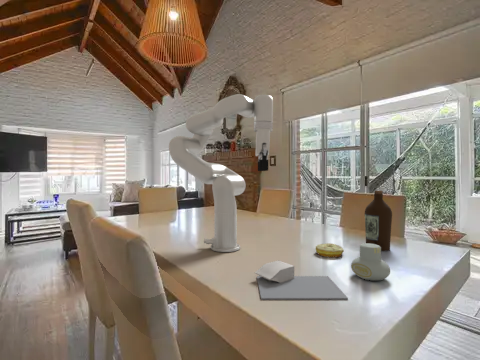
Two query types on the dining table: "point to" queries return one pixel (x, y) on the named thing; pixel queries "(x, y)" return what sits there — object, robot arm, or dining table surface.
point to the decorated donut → (329, 250)
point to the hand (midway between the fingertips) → (262, 170)
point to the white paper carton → (276, 271)
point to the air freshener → (370, 263)
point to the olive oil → (378, 222)
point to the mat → (300, 289)
